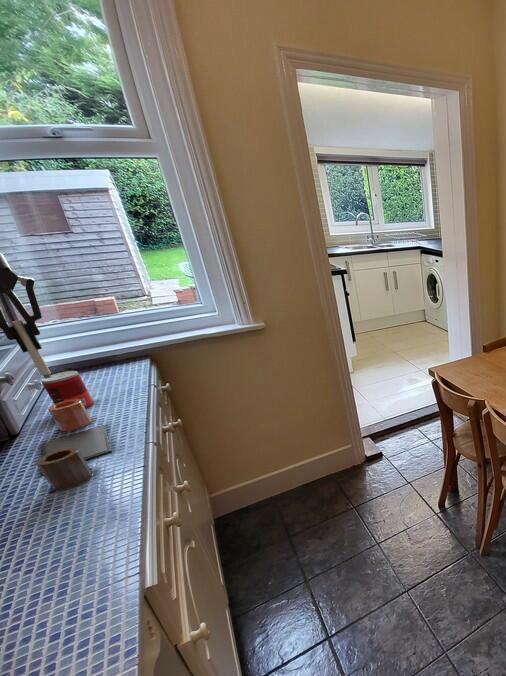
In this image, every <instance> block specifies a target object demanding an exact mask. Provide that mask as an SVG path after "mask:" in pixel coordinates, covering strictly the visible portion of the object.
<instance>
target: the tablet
mask: <svg viewBox="0 0 506 676" xmlns="http://www.w3.org/2000/svg"><path fill="white" fill-rule="evenodd" d="M109 439H110V438H109V436H108V432H107V429H106V425H105V424H102V425H100V426H96V427H92V428H89V429H86V430H82V431H79V432H76V433H73V434H69V435H66V436H62V437H59V438H56V439H53V440H50V441H46V442H43V443H41V458H42V457H43V456H45V455H47V454H49V453H51V452H55V451H57V450H61V449H65V448H71V447H75V448H78V449H79V451H80V453H81V454H82V456H83V458H84V459H85V461H86V462H87V461H90V460H93V459H97V458H98V457H103V456H105V455H108V454H111V453H113V450H112V446H111V442H110V440H109ZM40 472H41V471H40ZM41 476H42V477H44V475H43V473H42V472H41Z"/></svg>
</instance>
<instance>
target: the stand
mask: <svg viewBox="0 0 506 676" xmlns="http://www.w3.org/2000/svg"><path fill="white" fill-rule="evenodd" d="M35 464H36V465H37V467H38V469H39V470H40V472H42V473H43V477H44V478H45V479H46V481H47V483H49V486H50V487H51V489H52V490H54V491H63V490H67V489H71V488H73V487H76V486H79V485H81V484H84V482H86V481H88V480H89V479H91V478H92V477H93V475H94V473H93V472H92V470H91V468H90V466H89V464H88V463H87V461H85V459H84V458H83V456H82V454H81V453H80V451H79V449H78V448H75V447H71V448H65V449H61V450H57V451H55V452H51V453H49V454H47V455H45V456H43V457H42V456H41V457H40V458H38V459H37V460H36V462H35Z"/></svg>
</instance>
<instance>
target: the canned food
mask: <svg viewBox="0 0 506 676" xmlns="http://www.w3.org/2000/svg"><path fill="white" fill-rule="evenodd" d="M50 375H51V377H50V378H46V379H45V378H44V377H43V378H42V379H41V380H40V382H41V384H42V386H43V388H44V389H45V391H46V393H47V394H48V396H49V398H50V399H51V401H52V403H53V405H54V404H57V403H60V402H63V401H67V400H73V399H80V400H81V402H82V403H83V405H84V407H85V409H87V408H89V407H92V405H93V404H94V400H93V398H92V396H91V394H90V392H89V390H88V388H87V387H86V384H85V382H84V381H83V379H82V377H81V375H80V373H78V371H77V370H68V371H67V370H66V371H61V372H57V373H54V374H50Z"/></svg>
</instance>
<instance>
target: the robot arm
mask: <svg viewBox="0 0 506 676" xmlns="http://www.w3.org/2000/svg"><path fill="white" fill-rule="evenodd" d="M17 282H20V284H21V286H23V287H25V292H26V295H27V298H28V301H29V305H30V306H31V310H32V313H33V314H32V315H31V314H30V312H29V310H27V308H26V307H25V305H24V303H22V300H20V298H19V297H18V295H17V294H16V292H15V291H14V289H15V287H16V284H17ZM35 283H36V282H35V278H33V277H25V276H21V275H18V274H17V273H16V272H15V271H14V270H13V269H12V268H11V266H10V264H9V263H8V260H7V259H6V258H5V255H4V253H2V252H0V294H5V295H6V297H7V298H8V300H10V302H11V303H12V304H13V307H15V309H16V310H17V312H18V313H19V314H20V316H21V317H22V318H23V320H24V321H25V322H23V326H24V327H25V329H26V331H27V333H28V334H29V336H30V338H31V340H32V341H33V343H34V345H35V347H36V348H37V350H38V351H40V350H42V349H43V348H42V347H43V346H42V344H41V343H40V341H39V339H38V338H37V336H40V335H41V331H40V329H39V327H38V326H37V323H36V321H38V320H40V319H42V317H43V313H42V311H41V308H40V305H39V301H38V298H37V295H36V292H35V288H34V286H35ZM0 329H1V330H2V331H3V334H4V336H6V338H7V340H9V341H14V340H15V341H16V343H17V345H18V347H19V348H20V350H21V351H22V353H28V351H27V349H26V347H25V346H24V344H23V342H22V340H21V339H20V337H19V335H18V333H17V332H16V330H15V328H14V326H13V325H12V324H11V325H9V322H8V320H7V317H6V316H5V313H4V311H3V309H2V307H1V306H0Z"/></svg>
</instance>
